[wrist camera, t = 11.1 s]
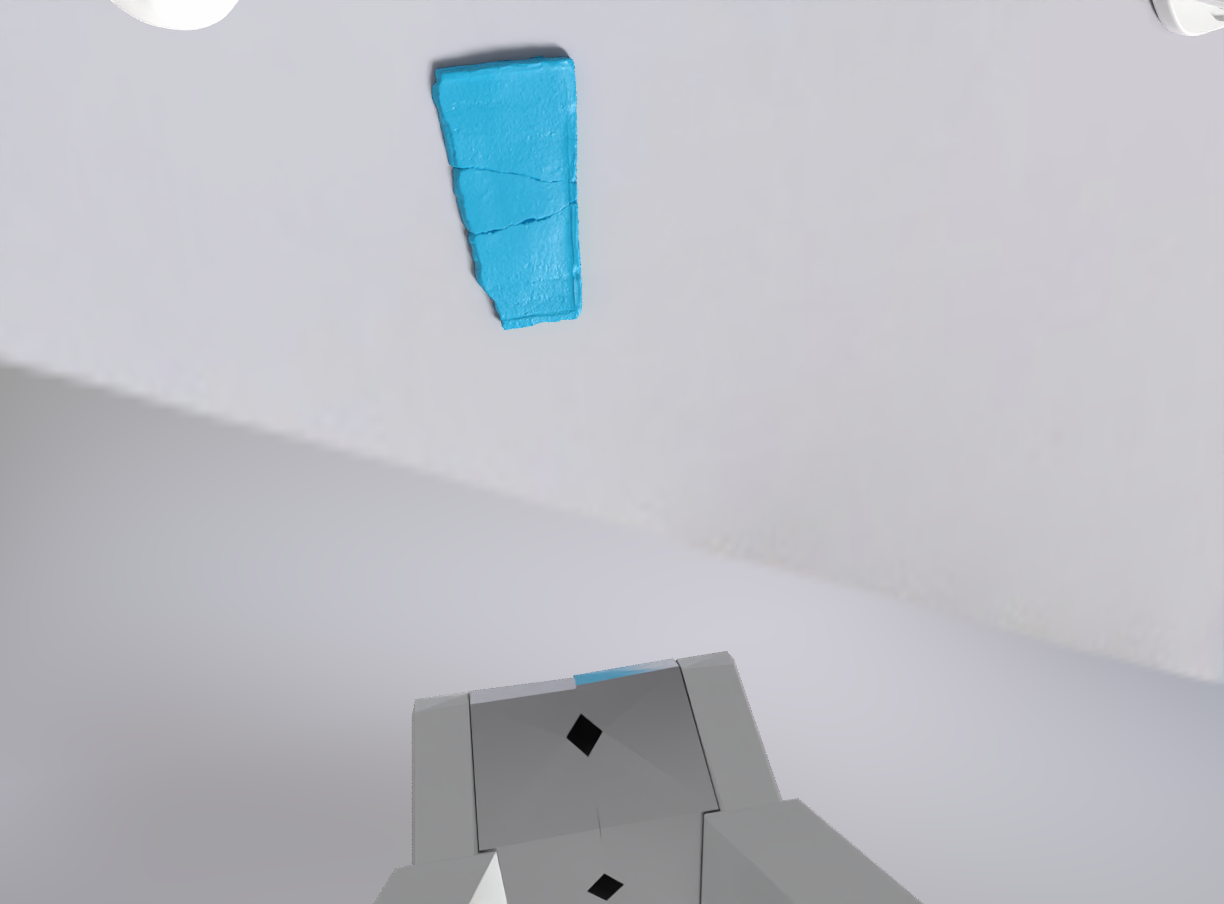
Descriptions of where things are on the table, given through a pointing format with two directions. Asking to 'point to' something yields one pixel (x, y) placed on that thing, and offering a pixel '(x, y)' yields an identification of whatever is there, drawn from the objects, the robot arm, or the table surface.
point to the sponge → (517, 181)
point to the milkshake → (177, 12)
